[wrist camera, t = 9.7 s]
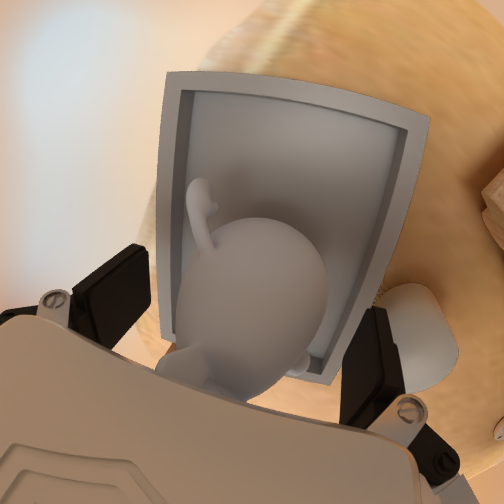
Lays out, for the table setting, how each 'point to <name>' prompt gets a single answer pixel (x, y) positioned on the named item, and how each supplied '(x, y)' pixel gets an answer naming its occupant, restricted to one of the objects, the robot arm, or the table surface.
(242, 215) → the tray
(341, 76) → the table surface
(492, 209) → the stepped wooden block
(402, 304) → the pale grey egg shape
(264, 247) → the toy figure
